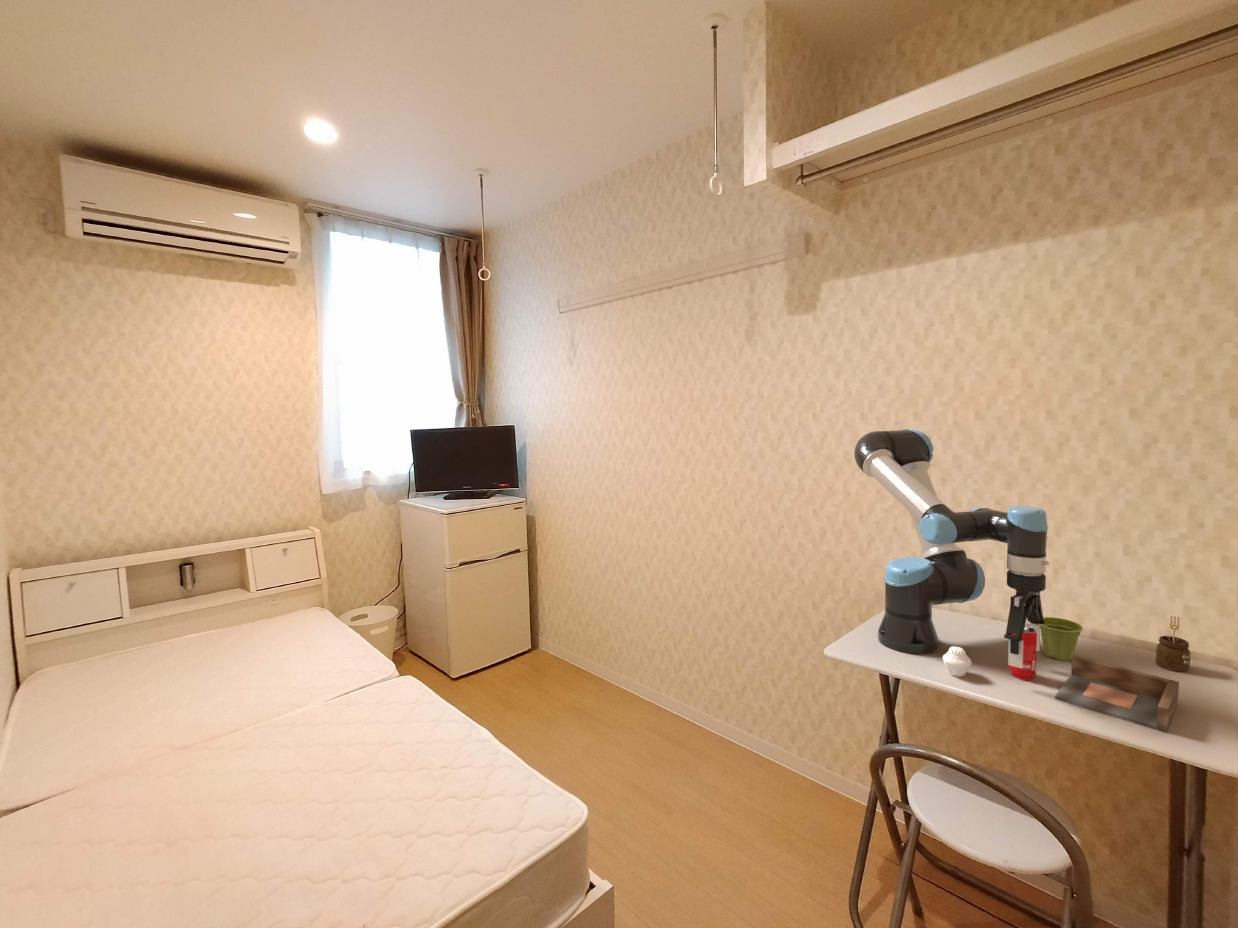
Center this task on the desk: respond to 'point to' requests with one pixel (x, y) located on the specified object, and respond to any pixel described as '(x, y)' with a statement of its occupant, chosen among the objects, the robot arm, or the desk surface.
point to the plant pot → (1059, 637)
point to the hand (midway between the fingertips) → (1024, 657)
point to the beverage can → (1027, 656)
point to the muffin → (956, 661)
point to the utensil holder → (1173, 651)
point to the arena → (1121, 693)
